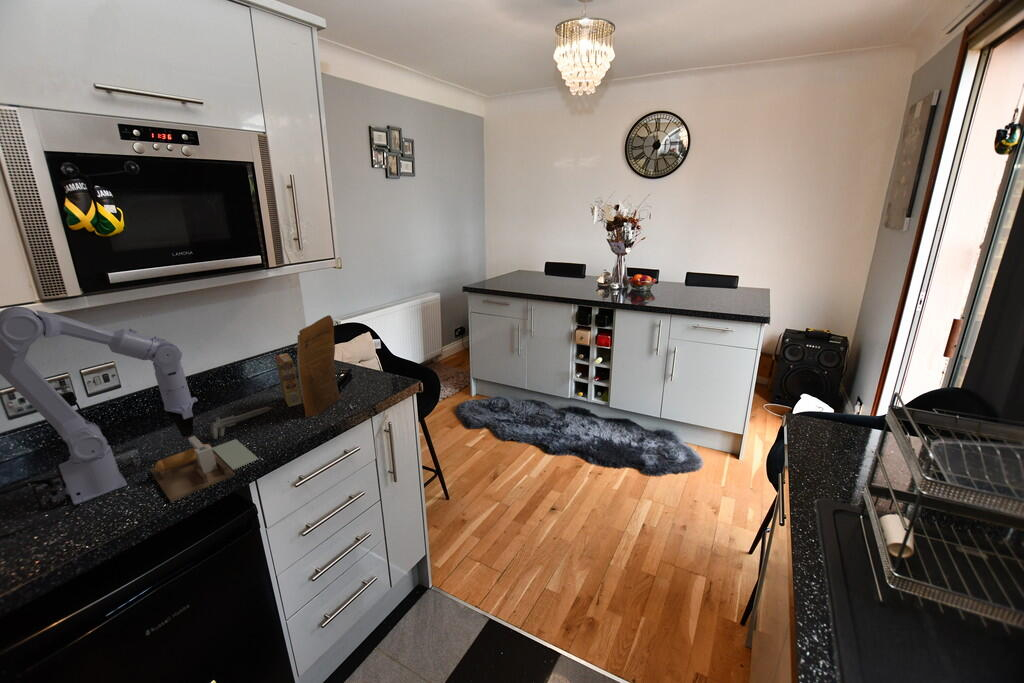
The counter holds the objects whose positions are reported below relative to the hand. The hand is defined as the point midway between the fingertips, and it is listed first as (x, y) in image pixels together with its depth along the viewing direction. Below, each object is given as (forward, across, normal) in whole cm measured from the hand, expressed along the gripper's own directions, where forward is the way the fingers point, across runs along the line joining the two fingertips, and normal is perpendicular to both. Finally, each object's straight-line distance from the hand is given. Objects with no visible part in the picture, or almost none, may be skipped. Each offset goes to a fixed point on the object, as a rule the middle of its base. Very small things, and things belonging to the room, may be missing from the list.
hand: (187, 435), depth 120 cm
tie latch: (+5, -10, 0) cm, 11 cm away
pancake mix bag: (+6, -1, -36) cm, 37 cm away
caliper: (+6, +8, -16) cm, 19 cm away
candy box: (+6, +12, -32) cm, 34 cm away
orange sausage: (+4, -7, +3) cm, 9 cm away
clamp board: (+6, -10, +3) cm, 12 cm away
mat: (+6, -10, -7) cm, 13 cm away
